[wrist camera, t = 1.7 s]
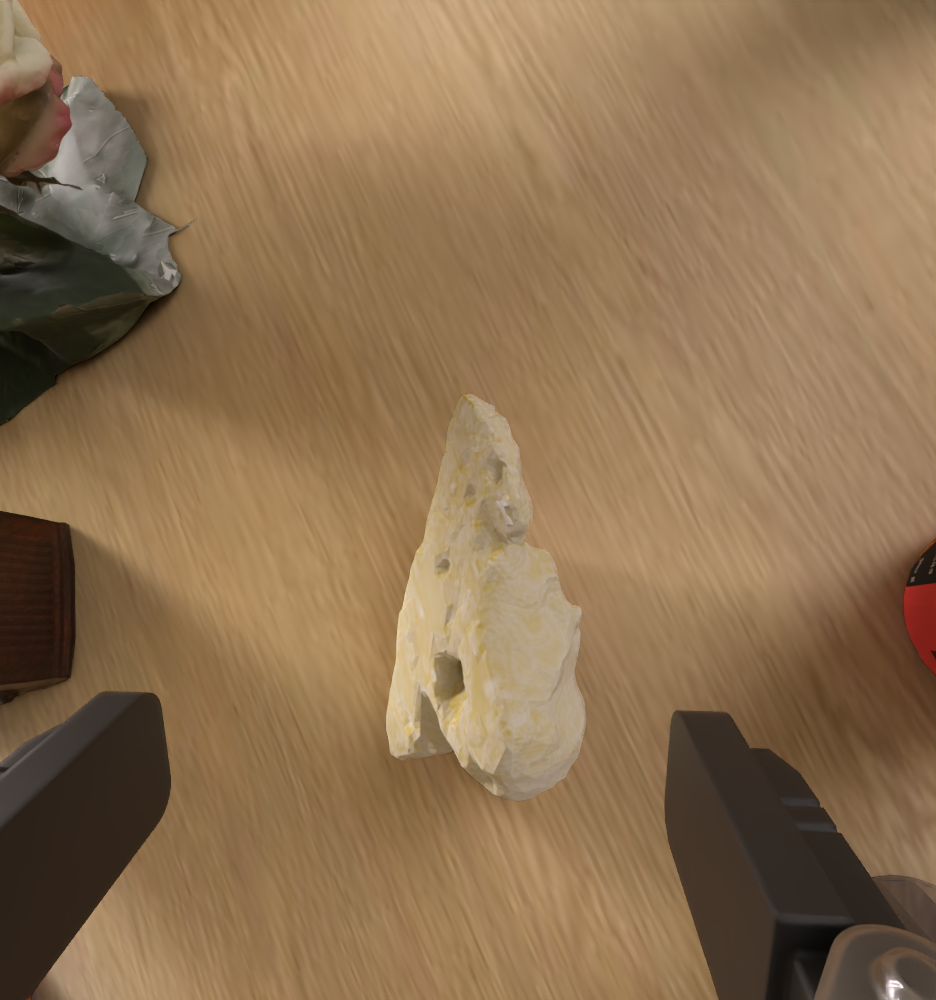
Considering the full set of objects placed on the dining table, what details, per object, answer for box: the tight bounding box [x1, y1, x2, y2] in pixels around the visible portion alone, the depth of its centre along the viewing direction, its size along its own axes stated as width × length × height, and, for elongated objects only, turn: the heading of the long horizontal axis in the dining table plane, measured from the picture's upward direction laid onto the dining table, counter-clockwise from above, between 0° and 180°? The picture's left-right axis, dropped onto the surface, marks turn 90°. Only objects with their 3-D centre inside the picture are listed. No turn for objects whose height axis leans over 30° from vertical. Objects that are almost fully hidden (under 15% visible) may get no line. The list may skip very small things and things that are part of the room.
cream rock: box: [386, 394, 586, 802], centre depth 29 cm, size 15×7×15 cm
